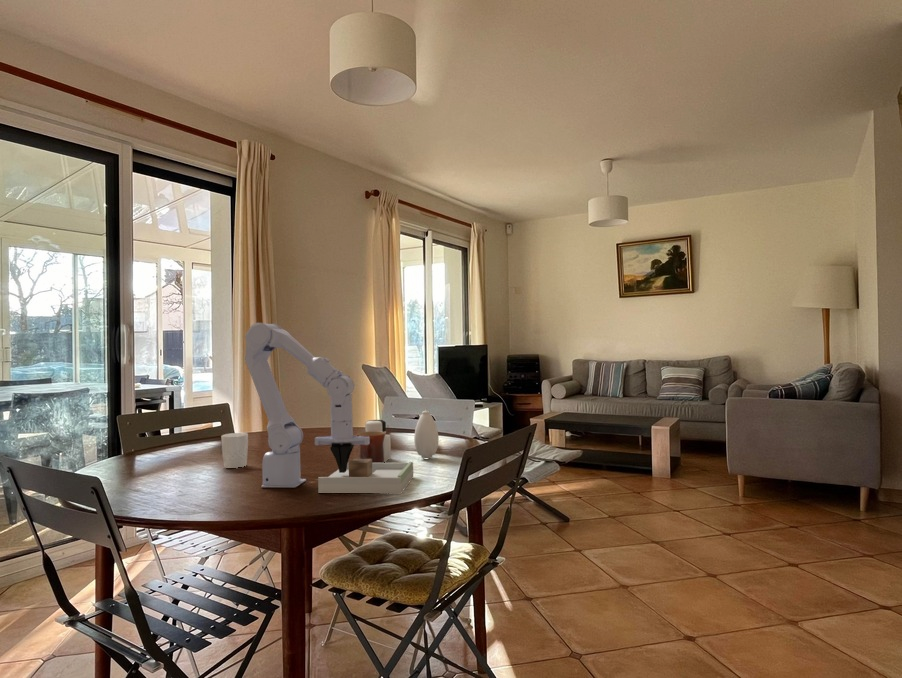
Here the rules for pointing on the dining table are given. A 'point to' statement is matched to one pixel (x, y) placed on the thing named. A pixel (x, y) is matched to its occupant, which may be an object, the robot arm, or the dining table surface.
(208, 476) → the dining table surface
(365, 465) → the block
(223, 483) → the dining table surface
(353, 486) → the tray
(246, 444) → the white cup
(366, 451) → the mug
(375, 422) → the container
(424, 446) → the sauce bottle
